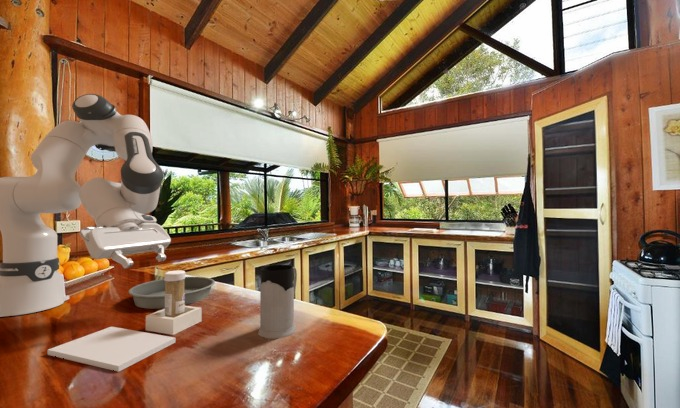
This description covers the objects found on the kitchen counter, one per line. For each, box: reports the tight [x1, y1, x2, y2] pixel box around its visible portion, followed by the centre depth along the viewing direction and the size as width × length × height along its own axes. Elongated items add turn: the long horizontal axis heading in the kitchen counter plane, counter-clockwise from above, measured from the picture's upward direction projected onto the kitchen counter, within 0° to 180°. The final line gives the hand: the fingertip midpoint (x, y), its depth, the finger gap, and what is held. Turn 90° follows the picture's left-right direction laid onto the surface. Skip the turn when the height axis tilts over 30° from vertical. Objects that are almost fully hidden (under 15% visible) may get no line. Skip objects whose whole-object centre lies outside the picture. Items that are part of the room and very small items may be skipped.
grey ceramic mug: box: [258, 264, 298, 340], centre depth 72 cm, size 9×14×15 cm, turn 162°
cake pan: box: [128, 276, 216, 310], centre depth 96 cm, size 25×25×4 cm
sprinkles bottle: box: [163, 269, 186, 318], centre depth 72 cm, size 5×5×13 cm
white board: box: [47, 326, 176, 373], centre depth 60 cm, size 20×12×1 cm, turn 72°
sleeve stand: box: [145, 305, 203, 336], centre depth 72 cm, size 9×9×4 cm
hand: (147, 262), depth 76 cm, fingers open, 8 cm apart
